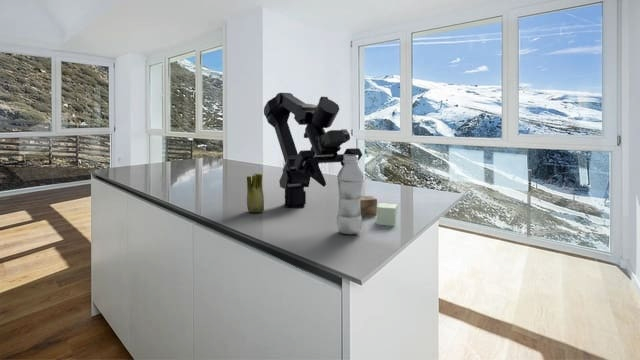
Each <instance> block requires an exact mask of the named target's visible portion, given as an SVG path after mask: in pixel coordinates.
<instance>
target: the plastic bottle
mask: <svg viewBox="0 0 640 360" xmlns="http://www.w3.org/2000/svg"><path fill="white" fill-rule="evenodd" d="M359 162H360V160H359V161H358V155H343V163H344V165H343V166H341V168H340V169H339V171H338V173H337V187H338V210H337V216H336V221H335V226H336V229H337V231H338V232H339V233H341V234H343V235H344V234H345V235H356V234H359V233H360V232H361V230H362V226H363V219H362V216H361V208H360V201H361V199H360V198H361V196H362V190H363V184H364V178H365V177H364V173H363V172H362V169H361V168H360V166H359V165H358V164H359Z"/></svg>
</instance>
